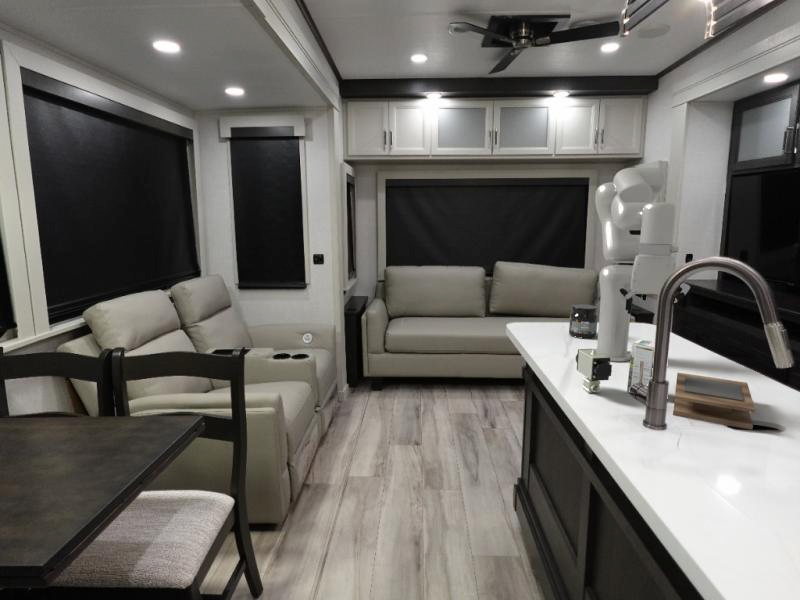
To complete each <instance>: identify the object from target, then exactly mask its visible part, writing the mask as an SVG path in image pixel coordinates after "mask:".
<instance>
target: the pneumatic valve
mask: <svg viewBox="0 0 800 600" xmlns="http://www.w3.org/2000/svg"><path fill="white" fill-rule="evenodd" d="M595 349H596V348H579V349H577V353H576V355H575V362H576V371H577V372H579V373H580V374H582V375H583V376H585V377H583V378H582V380H583V381H582V383H583V384H582V389H583V390H584V391H585V392H587V393H588V394H591V393H597V394H598V393H600V392H601V391H600V389H601V385H600V384H601V381H609V380H610V377H612V368H613V364H611V361H610V358H609V357H607V356H606V354H604V353H600V352H598V351H596V350H595Z"/></svg>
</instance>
